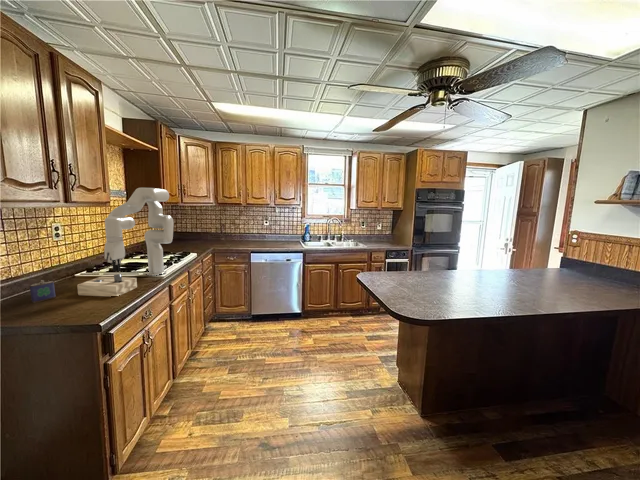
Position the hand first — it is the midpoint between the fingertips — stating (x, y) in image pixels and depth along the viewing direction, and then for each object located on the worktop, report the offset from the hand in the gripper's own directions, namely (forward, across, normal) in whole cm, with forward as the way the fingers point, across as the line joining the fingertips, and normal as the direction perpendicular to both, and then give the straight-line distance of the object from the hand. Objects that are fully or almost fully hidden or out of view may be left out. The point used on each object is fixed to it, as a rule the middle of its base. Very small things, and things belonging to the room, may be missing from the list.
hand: (116, 270), depth 156 cm
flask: (+13, +15, -28) cm, 34 cm away
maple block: (+12, -1, -6) cm, 14 cm away
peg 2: (+8, -1, 0) cm, 8 cm away
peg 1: (+12, -1, -12) cm, 17 cm away
